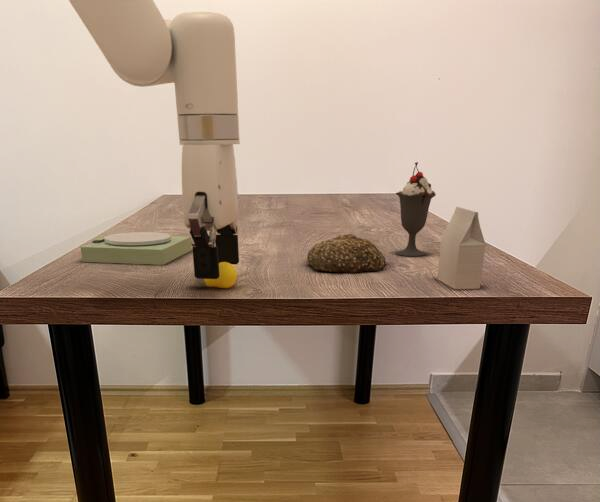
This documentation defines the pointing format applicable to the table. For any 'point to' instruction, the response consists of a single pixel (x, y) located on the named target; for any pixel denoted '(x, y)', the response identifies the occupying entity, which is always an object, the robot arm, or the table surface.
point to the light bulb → (220, 277)
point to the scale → (136, 248)
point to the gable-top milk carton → (462, 251)
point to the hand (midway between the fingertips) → (218, 270)
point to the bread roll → (345, 255)
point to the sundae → (414, 209)
